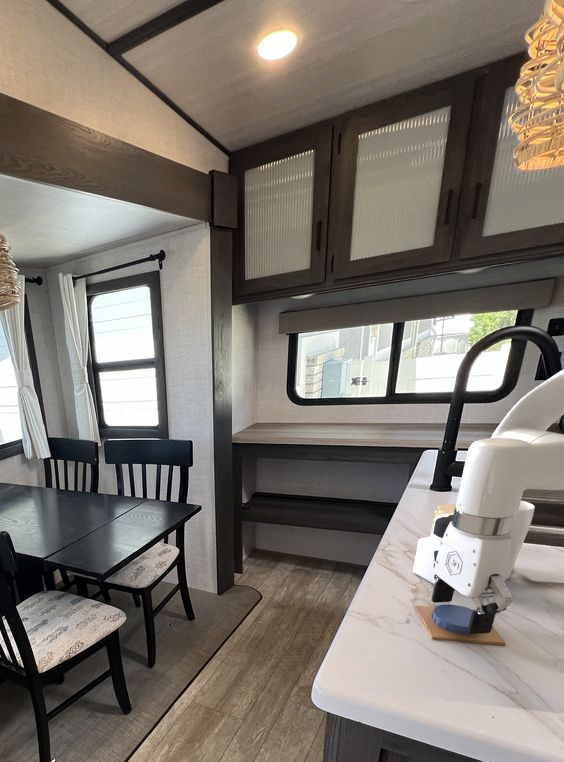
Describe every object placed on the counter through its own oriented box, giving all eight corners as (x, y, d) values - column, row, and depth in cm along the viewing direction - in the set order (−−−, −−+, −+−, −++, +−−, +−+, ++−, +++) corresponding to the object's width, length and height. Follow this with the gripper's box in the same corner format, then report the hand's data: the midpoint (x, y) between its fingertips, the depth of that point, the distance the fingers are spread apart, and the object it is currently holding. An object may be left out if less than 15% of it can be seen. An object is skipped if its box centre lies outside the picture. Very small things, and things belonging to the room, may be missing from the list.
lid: (431, 628, 78) (433, 621, 78) (431, 608, 84) (433, 601, 83) (484, 638, 74) (487, 631, 74) (481, 616, 80) (483, 609, 79)
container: (476, 583, 91) (493, 520, 86) (441, 589, 90) (455, 526, 85) (444, 566, 98) (457, 508, 93) (411, 572, 97) (422, 513, 92)
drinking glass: (476, 565, 97) (493, 496, 91) (517, 574, 93) (538, 502, 86) (467, 577, 93) (484, 506, 87) (509, 587, 89) (531, 512, 82)
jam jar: (457, 541, 108) (466, 503, 104) (469, 553, 102) (478, 514, 99) (424, 540, 110) (431, 503, 106) (433, 552, 104) (441, 513, 101)
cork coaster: (480, 612, 82) (480, 609, 82) (504, 645, 73) (505, 642, 73) (415, 607, 85) (415, 605, 85) (431, 639, 76) (432, 636, 76)
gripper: (424, 505, 80) (407, 592, 87) (497, 545, 64) (469, 648, 71) (470, 502, 79) (449, 590, 86) (555, 541, 63) (521, 645, 70)
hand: (458, 616), depth 78 cm, fingers open, 9 cm apart
